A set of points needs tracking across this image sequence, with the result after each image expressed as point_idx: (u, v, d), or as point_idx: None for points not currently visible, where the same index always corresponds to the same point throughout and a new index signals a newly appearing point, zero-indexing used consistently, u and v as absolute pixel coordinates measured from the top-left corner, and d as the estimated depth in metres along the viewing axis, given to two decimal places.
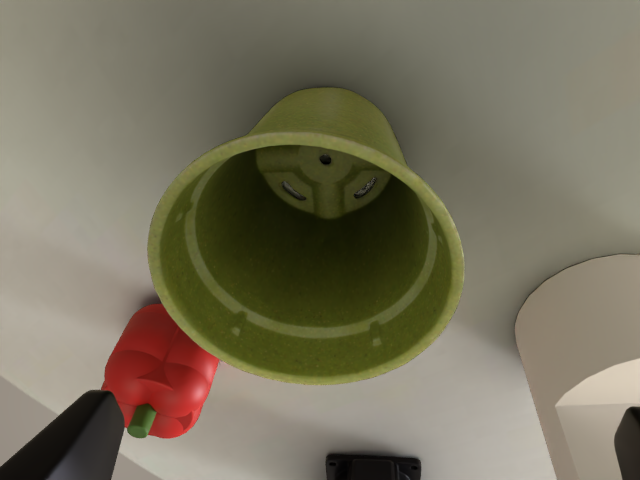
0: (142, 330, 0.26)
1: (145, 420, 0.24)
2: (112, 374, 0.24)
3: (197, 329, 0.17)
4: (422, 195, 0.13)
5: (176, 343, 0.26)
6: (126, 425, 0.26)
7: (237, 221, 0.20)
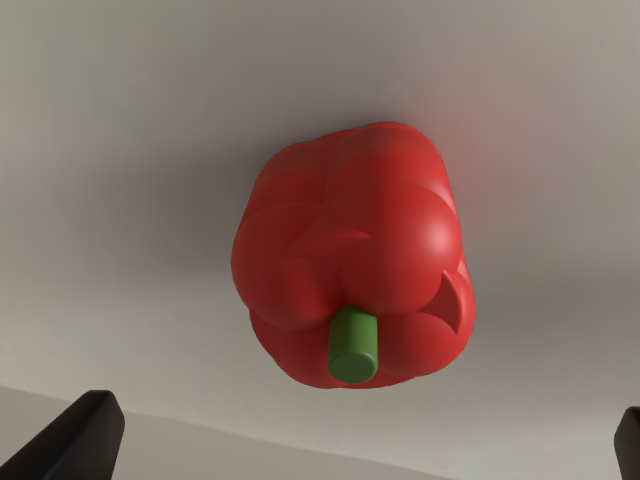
0: (264, 184, 0.12)
1: (354, 335, 0.10)
2: (241, 277, 0.11)
3: None
4: None
5: (337, 170, 0.12)
6: None
7: None
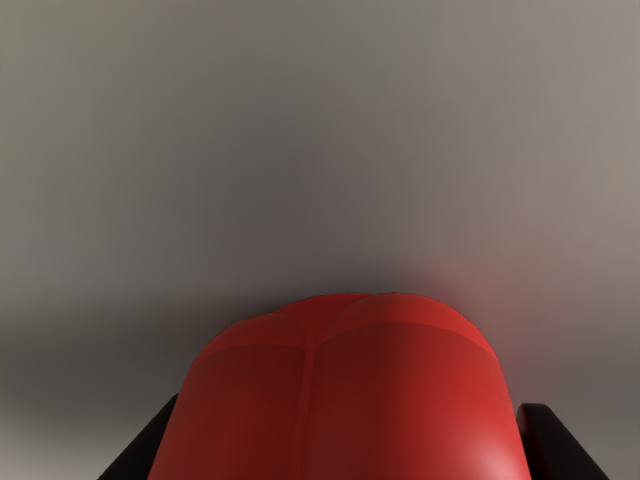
0: (181, 434, 0.07)
1: None
2: None
3: None
4: None
5: (314, 426, 0.06)
6: None
7: None
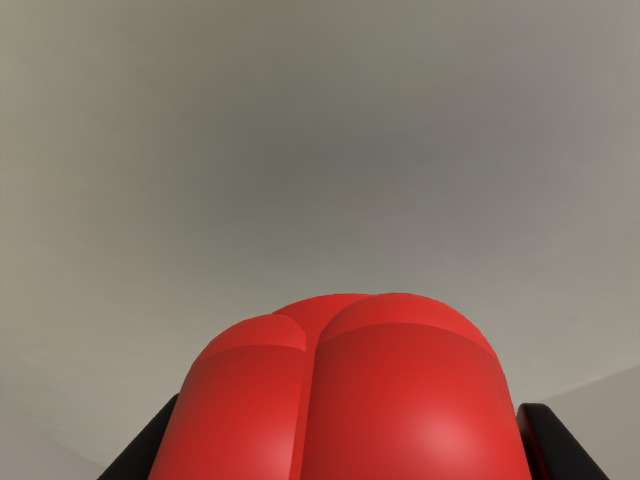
0: (182, 434, 0.07)
1: None
2: None
3: None
4: None
5: (314, 427, 0.06)
6: None
7: None
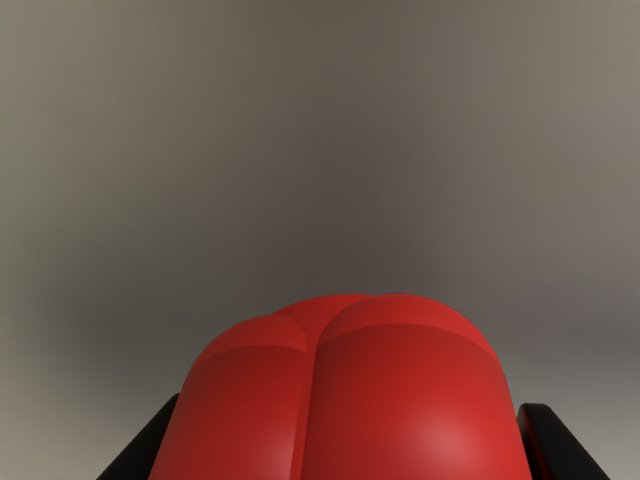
0: (182, 435, 0.07)
1: None
2: None
3: None
4: None
5: (315, 427, 0.06)
6: None
7: None
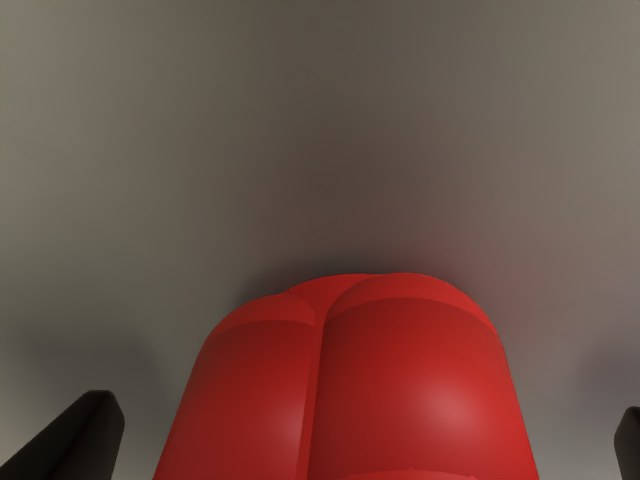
0: (197, 402, 0.07)
1: None
2: None
3: None
4: None
5: (324, 393, 0.07)
6: None
7: None
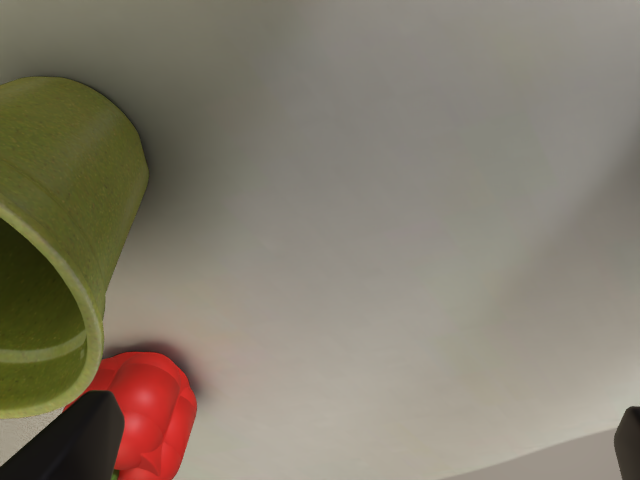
0: None
1: None
2: None
3: (51, 397, 0.15)
4: None
5: None
6: None
7: None
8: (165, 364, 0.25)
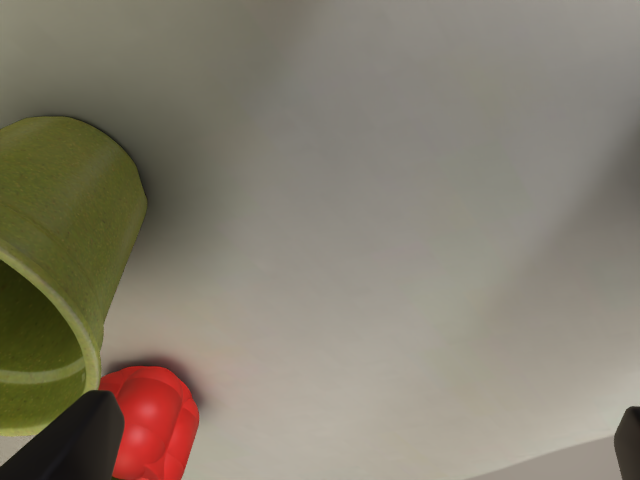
0: None
1: None
2: None
3: (55, 417, 0.16)
4: None
5: None
6: None
7: None
8: (168, 378, 0.26)
